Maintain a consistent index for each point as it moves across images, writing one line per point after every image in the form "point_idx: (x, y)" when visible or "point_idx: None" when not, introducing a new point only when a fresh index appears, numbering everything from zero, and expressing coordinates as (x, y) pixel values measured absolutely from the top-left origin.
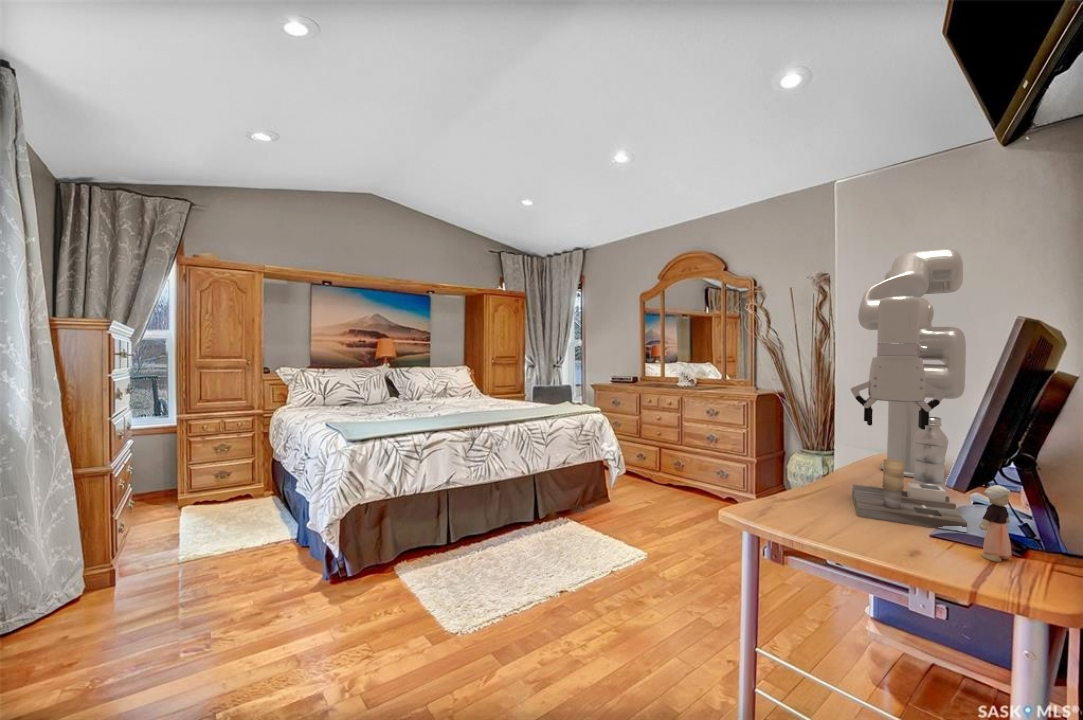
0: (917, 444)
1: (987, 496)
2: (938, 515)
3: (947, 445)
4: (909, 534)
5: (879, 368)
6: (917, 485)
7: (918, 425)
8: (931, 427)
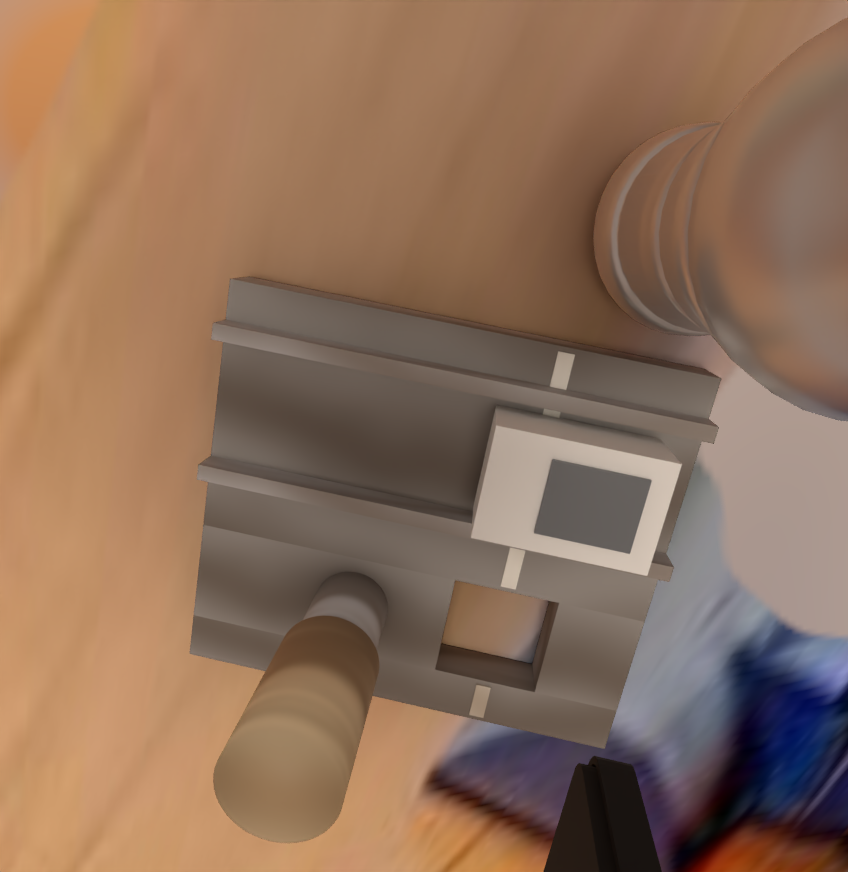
0: (690, 280)
1: None
2: (552, 608)
3: None
4: (355, 782)
5: None
6: (533, 477)
7: (578, 783)
8: None
